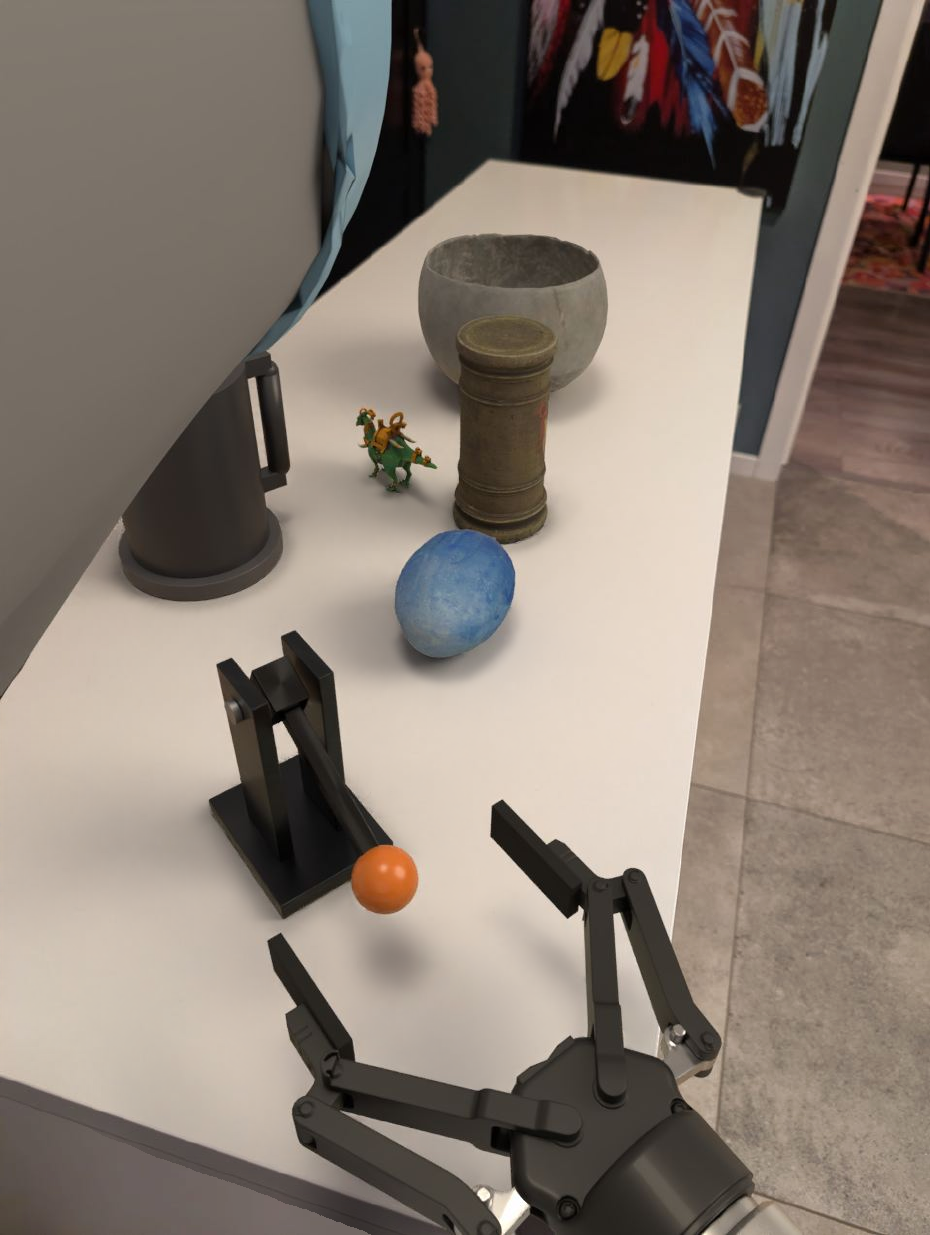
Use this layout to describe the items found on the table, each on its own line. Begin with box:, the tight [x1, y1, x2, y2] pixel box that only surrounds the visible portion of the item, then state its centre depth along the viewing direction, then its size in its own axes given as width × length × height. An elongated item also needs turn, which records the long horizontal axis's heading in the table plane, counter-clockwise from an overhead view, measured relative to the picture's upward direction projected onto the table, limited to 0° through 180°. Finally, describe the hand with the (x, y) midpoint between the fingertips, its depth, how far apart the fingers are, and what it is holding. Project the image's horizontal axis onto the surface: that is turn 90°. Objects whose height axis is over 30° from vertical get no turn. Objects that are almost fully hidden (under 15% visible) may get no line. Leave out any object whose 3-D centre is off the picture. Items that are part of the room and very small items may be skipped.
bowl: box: [417, 232, 609, 394], centre depth 105 cm, size 20×20×15 cm
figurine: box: [355, 407, 438, 492], centre depth 92 cm, size 3×12×8 cm, turn 42°
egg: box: [394, 529, 516, 659], centre depth 76 cm, size 9×9×15 cm
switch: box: [249, 655, 419, 915], centre depth 53 cm, size 15×4×4 cm, turn 37°
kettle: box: [118, 350, 291, 602], centre depth 79 cm, size 17×14×20 cm
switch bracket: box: [208, 630, 394, 919], centre depth 58 cm, size 10×8×15 cm
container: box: [452, 315, 558, 544], centre depth 85 cm, size 9×9×18 cm
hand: (393, 879), depth 50 cm, fingers open, 13 cm apart
